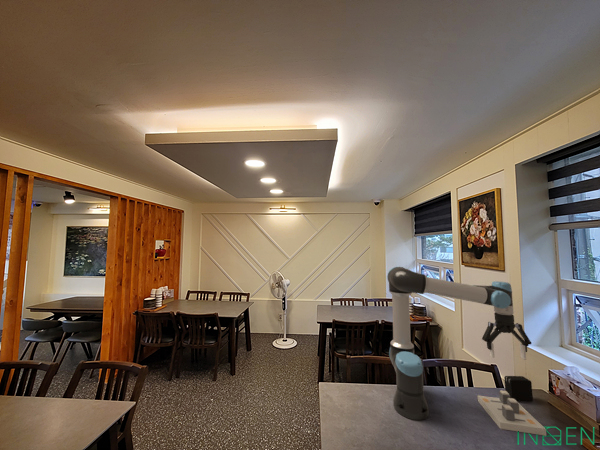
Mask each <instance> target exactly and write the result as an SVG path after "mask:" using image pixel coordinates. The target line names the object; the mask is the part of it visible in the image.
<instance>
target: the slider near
mask: <svg viewBox="0 0 600 450" xmlns="http://www.w3.org/2000/svg"><path fill="white" fill-rule="evenodd" d="M502 415H503V416H504V417H505V419H506V420H511V421H515V415H514V410H513V409H512V408H511V407H510V406H509V405H502Z"/></svg>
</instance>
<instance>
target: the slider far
mask: <svg viewBox="0 0 600 450" xmlns="http://www.w3.org/2000/svg"><path fill="white" fill-rule="evenodd" d="M498 393H499V394H498V395H499V396H498V398H500V401H501V402H502V403H503V404H507V399H508V398H510V395H509V393H508V392H506V391H505V390H502V389H501V390H499V391H498Z"/></svg>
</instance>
